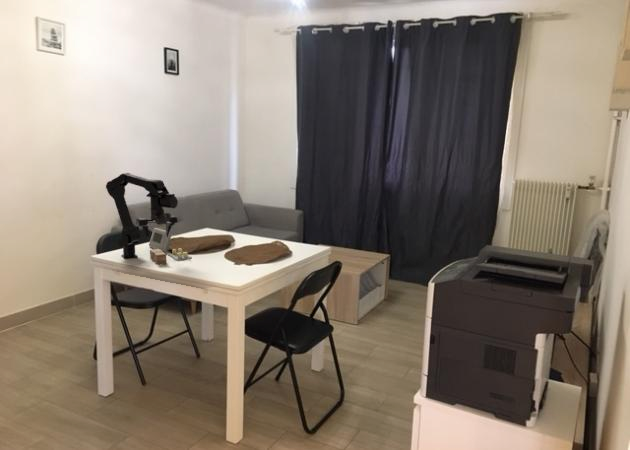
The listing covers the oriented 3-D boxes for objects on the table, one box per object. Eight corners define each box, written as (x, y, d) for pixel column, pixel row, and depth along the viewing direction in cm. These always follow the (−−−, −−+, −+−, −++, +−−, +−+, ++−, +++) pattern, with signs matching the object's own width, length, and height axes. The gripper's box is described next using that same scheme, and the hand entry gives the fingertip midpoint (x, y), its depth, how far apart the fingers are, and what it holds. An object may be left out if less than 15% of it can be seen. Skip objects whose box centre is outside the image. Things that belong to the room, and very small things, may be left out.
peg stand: (168, 254, 261) (168, 249, 261) (183, 253, 266) (183, 247, 265) (176, 260, 251) (176, 254, 251) (191, 258, 256) (191, 252, 255)
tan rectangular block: (150, 259, 253) (149, 249, 252) (159, 258, 256) (158, 248, 255) (157, 265, 243) (156, 255, 242) (166, 264, 246) (166, 254, 245)
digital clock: (148, 247, 276) (147, 228, 274) (164, 245, 281) (163, 226, 279) (157, 253, 263) (157, 234, 261) (174, 251, 268) (174, 232, 266)
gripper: (141, 210, 232) (143, 243, 235) (181, 207, 243) (182, 239, 246) (135, 206, 241) (136, 238, 244) (173, 204, 252) (174, 234, 255)
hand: (157, 237), depth 247 cm, fingers open, 9 cm apart
